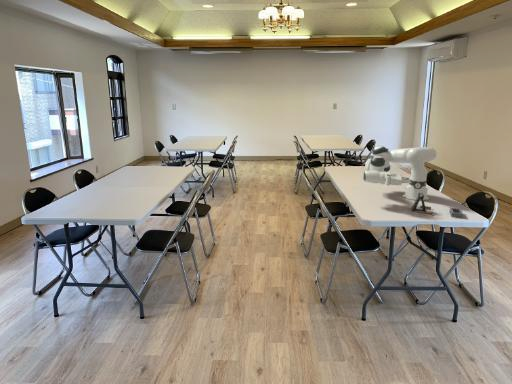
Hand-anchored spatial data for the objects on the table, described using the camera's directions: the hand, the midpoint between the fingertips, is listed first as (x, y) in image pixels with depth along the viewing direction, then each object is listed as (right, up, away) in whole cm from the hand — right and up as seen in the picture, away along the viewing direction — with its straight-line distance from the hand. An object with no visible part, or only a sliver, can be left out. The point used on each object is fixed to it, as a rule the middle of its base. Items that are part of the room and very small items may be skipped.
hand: (409, 180), depth 258 cm
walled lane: (+12, -21, +1) cm, 24 cm away
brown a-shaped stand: (+7, -21, +2) cm, 22 cm away
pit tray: (+29, -23, -5) cm, 37 cm away
